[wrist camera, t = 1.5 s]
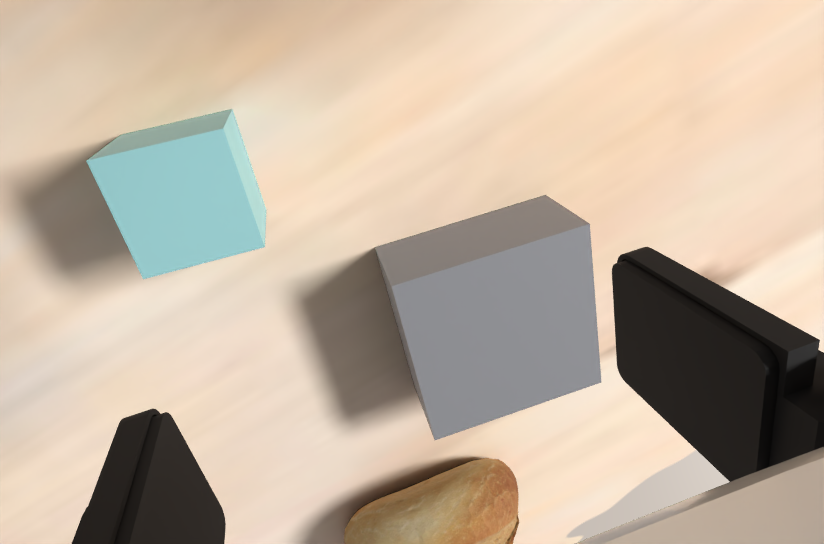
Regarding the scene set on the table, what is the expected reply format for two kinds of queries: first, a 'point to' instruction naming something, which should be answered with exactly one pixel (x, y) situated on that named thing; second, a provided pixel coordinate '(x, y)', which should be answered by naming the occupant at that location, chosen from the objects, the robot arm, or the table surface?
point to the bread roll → (444, 509)
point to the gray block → (495, 312)
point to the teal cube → (182, 193)
